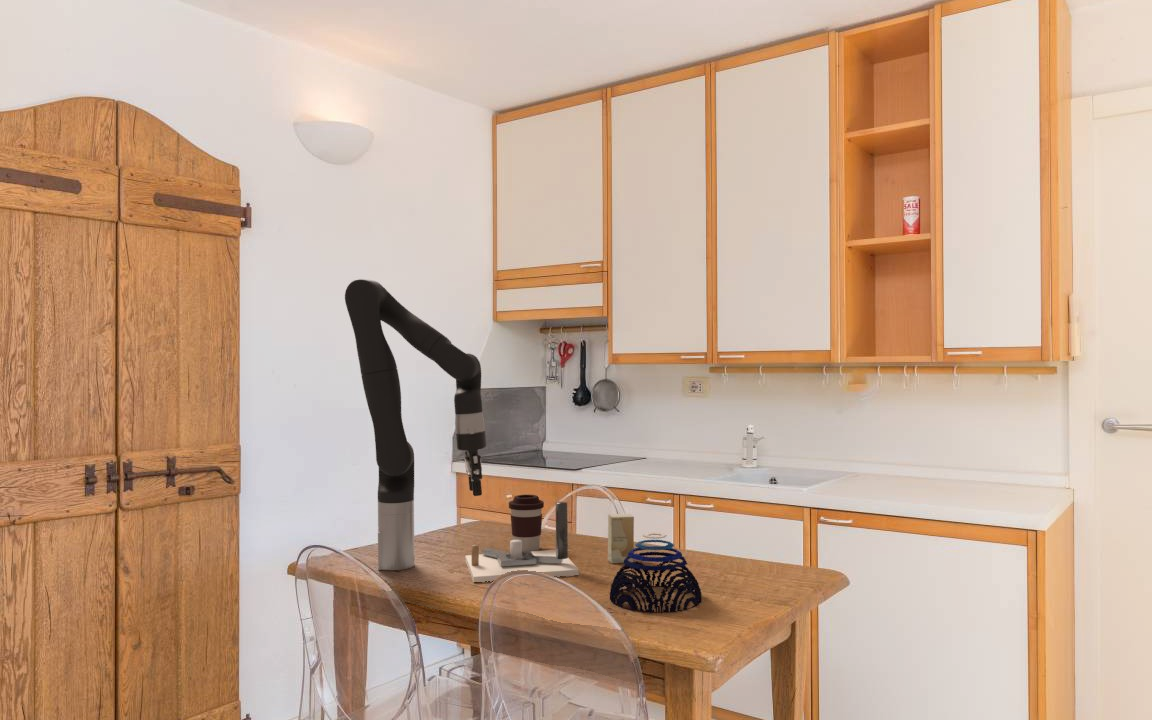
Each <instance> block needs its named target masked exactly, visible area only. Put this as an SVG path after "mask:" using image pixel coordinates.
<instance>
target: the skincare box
mask: <svg viewBox="0 0 1152 720" xmlns="http://www.w3.org/2000/svg"><path fill="white" fill-rule="evenodd" d="M607 517H608V518H607V519H608V521H607V523H608V525H607V561H609V562H610V564H624V559H625V558H626V557H627V556H628V553H629V552H630V551H632V550H633V549H635V545H634V536H635V534H634V533H635V531H634V530H635V525H634V524H635V516H633V514H631V513H616V514H615V513H613V514H612V513H611V514H608V515H607ZM628 561H630V562H634V559H632V558H630V559H628Z"/></svg>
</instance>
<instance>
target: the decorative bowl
mask: <svg viewBox="0 0 1152 720" xmlns="http://www.w3.org/2000/svg"><path fill="white" fill-rule="evenodd" d="M642 537H644V538H647V539H645V540H640V541H638V542H635V545H634V546H635V547H634V549H633V550H632V551H630V552H629V553H628V556H627V557H626V558H625V559H624V563H623V564H624V565H623V566H621V567H620V568H619V569H618V570H617V572H616V574H615V575H614V578H613V580H612V582H611V585H610V592H609V601H610V602H611V603H612V604H613V605H614V606H616V607H619V608H621V609H623V610H627V611H632V612H637V613H647V614H648V613H649V614H663V613H664V614H665V613H666V614H669V613H677V612H678V613H679V612H685V611H688V610H691V609H693V608H696V607H698V606H700V604H701V603H702V599H703V598H702V592H701V591H702V590H701V587H700V585H699V582H698V580H697V578H696V576H695V575H694V574H693V572H692V571H691V570H689V567H687V565H688V562H687V560H686V558H685V556H683V553H682V552H681V551H680V550H678V549H676V548H674V547H675V544H674V543H672V542H671V541H667V540H663V539H664V538H666V537H667V534H666V533H661V532H647V533H643V534H642ZM644 543H645V544H646V543H661V544H666V545H662V546H660V545H658V546H655V545H652V546H650V545H644ZM645 550H646V552H639V553H635V552H638V551H645ZM647 550H648V551H647ZM660 551H661V552H660ZM665 551H669V552H665ZM671 552H674V553H671ZM630 558H632V559H633V560H636V561H633V562H630V561H628V559H630ZM676 560H681V562H680V561H676ZM643 562H647V563H649V562H651V563H654V562H655V563H658V564H657V565H646V564H643ZM650 571H652V573H651V574H650ZM666 571H668V572H667V573H666V574H665V575H664V577H663V579H661V578H662V576H663V574H664V573H665V572H666ZM677 571H679V572H678V573H676V574H674V575H672V573H675V572H677ZM643 573H644V574H643ZM645 576H646V577H645ZM656 578H657V581H656ZM668 578H669V579H668ZM677 578H678V579H677ZM679 578H680V579H679ZM661 580H662V581H661ZM667 580H668V581H667ZM655 581H656V583H655ZM624 587H625V588H624ZM659 587H660V588H662V590H661V592H660V595H659V598H658V596H657V594H656V593H657V592H655V590H654V589H653V588H659ZM632 589H634V590H635V591H633V590H632ZM675 590H677V592H676V593H675ZM624 592H627V593H624ZM636 592H637V594H636ZM629 593H630V594H629ZM674 593H675V595H674V596H673V599H672V595H673V594H674ZM688 594H692V596H691V597H687V598H686V599H685V597H686V595H688ZM638 595H639V596H640V597H641V599H640V597H639V596H638ZM666 595H667V597H666ZM665 597H666V599H665ZM664 599H665V600H664ZM684 599H685V600H684ZM683 600H684V601H685V602H684V603H683ZM641 601H642V602H641ZM670 602H672V603H670ZM690 602H691V603H692V606H691V607H689V605H690ZM625 603H627V605H628V606H629V608H627V607H625V606H623V605H624V604H625ZM642 603H643V604H642ZM682 603H683V607H682V608H681V606H682V605H681V604H682ZM653 606H654V608H653ZM643 607H644V608H643ZM663 608H664V609H663Z"/></svg>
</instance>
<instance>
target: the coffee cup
mask: <svg viewBox="0 0 1152 720" xmlns="http://www.w3.org/2000/svg"><path fill="white" fill-rule="evenodd" d="M544 503H545V502H544V500H542V499H540V497H539V496H538V495H537V494H518V495H515V496H514V497H513V500H510V501H508V508H509V509H510V525H511V527H510V528H511V535H512V540H521V541H522V552H525V551H539V549H540V548H541V547H540V546H541V544H540V543H541V534H542V522H543V514H542V509H543V508H544V507H545V504H544Z"/></svg>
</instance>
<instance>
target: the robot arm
mask: <svg viewBox="0 0 1152 720" xmlns="http://www.w3.org/2000/svg"><path fill="white" fill-rule="evenodd" d="M344 292H345V293H344V300H345V301H344V302H345V306H346V309H347V313H348V316H349V318H350V323H351V327H352V330H353V333H354V338H355V344H356V351H357V356H358V362H359V369H360V370H359V371H360V375H361V380H362V386H363V390H364V396H365V399H366V403H367V407H368V411H369V415H370V417H371V421H372V425H373V426H372V427H373V432H374V433H373V434H374V441H375V442H374V444H375V461H376V464H377V467H378V486H377V557H378V558H377V570H379V571H380V570H381V571H382V570H384V571H399V570H402V571H403V570H406V569H410V568H413V567H414V566H415V565H416V564H415V563H416V562H415V560H416V559H415V557H416V556H415V494H414V493H415V453H414V448H413V447H412V445H411V443H410V442H409V441H408V439H407V437H406V436H407V435H406V432H405V428H404V423H403V416H402V392H401V390H402V389H401V380H400V377H399V369H398V365H397V362H396V360H395V357H394V353H393V351H392V349H391V348H390V345H389V343H388V341H387V338H386V337H385V334H384V331H383V328H382V322H384V323H385V324H387V325H388V326H390V327H391V328H393V329H394V330H395V331H396V332H397V333H398V334H399V335H400V336H401V337H403V339H404V340H405V341H406V342H407V343H408V344H409V345H411V346H412V348H414V349H415V350H416V351H419V353H421V354H423V355H424V356H425V357H427V358H428V359H430V360H432V361H433V362H434V363H436V364H437V365H438V367H439V368H441V369H442V370H443V371H444V372H446V374H447V375H449V376H450V377H452V378H453V379H455V388H456V391H455V392H454V393H455V394H454V398H453V399H454V400H453V402H454V404H453V405H454V413H455V415H454V416H455V417H454V427H455V437H456V438H455V441H456V449H457V450H458V451H462V452H463V451H464V454H465V455H464V457H463V458H464V463H465V471H466V475H467V476H468V477H467V478H468V488H469V491H471V492H472V495H473V496H474V497H479V496H480V497H481V496H482V494H483V492H482V479H483V473H482V472H483V467H482V455H480V454H479V450H483V449H485V448H487V440H486V439H487V437H486V436H487V435H486V425H485V419H484V414H483V413H484V412H483V402H482V396H481V395H482V394H481V393H482V392H481V390H482V366H481V362H480V360H479V358H478V357H477V356H475V354H471V353H466V352H464V351H463V350H461V349H460V348H459V347H457V346H455V345H454V344H453V343H452V341H451V340H450V339H449V338H448V337H447V336H445V334H443V333H441V332H440V331H439V330H437V329H436V328H434V327H432V326H431V325H430V324H428V323H427V322H425V321H424V320H422V318H420V317H418V316H416V315H415V314H414V313H413V312H411V311H410V310H408V309H407V308H406V307H405V306H404V305H402V304H401V303H400V302H399V301H398V300H397V299H396V298H395V297H394V296H393V295H392V294H391V293H390V292H389V291H388V290H387V289H386V288H385V287H384V286H383V285H382V284H381V283H380V282H378V281H376V280H371V279H366V278H359V279H358V278H357V279H354V280H352V281H351V282H350V283H349V284H348V285H347V286H346V289H345V291H344Z"/></svg>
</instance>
